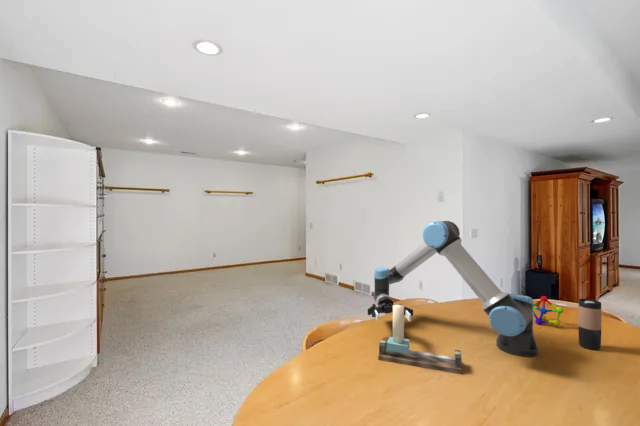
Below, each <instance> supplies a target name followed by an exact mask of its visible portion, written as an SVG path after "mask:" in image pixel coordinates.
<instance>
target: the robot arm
mask: <svg viewBox="0 0 640 426" xmlns="http://www.w3.org/2000/svg"><path fill="white" fill-rule="evenodd" d="M422 231H423V232H422V240H423V243H422V244H420V245H419V246H418V247H417V248H416V249H414V250H413V251H412V252H410V253H409V254H408V255H407V256H406V257H404V258H403V259H402V260H400V261H399V262H398V263H397V264H395V265H394V266H393V267H392V268H387V267H376V268H375V269H374V278H373V279H374V293H373V300H374V302H375V303H376V304H375V303H372V305H371V306H370V307H368V309H367V315H368V316H371V318H375V320H376V322H379V321H380V319H379V317H380V316H379V314H390V313H392V314H393V305H395V302H394V301H393V299H392V298H391V297H390V285H392V284H396V283H399V282H402V281H403V280H404V278H405V277H406V276H407V275H409V274H410V273H411V272H413V271H415V270H416V269H418V267H420V266H421V265H423V263H425V262H427V261H428V260H429V259H430V258H432V257H433V256H434V255H436V254H438V255H439V256H443V257H445V258H446V259H447V261H448V262H449V263H450V264H451V266H452V267H453V268H454V270H456V272H457V273H458V274H459V276H460V277H461V278H462V279H463V280H464V282H465V283H466V284H467V285H468V286H469V288H470V289H471V290H472V292H473V294H475V296H476V297H477V298H478V299H479V300H480V302H481V303H482V304H483V305H482V310H483V312H485V314H486V315H487V316H488V321H489V325H490V326H491V327H492V329H493V330H494V331H495V332H496V333H498V334H497V338H496V341H495V342H496V343H495V344H496V345H495V346H496V347H497V348H498V349H499V350H501V351H503V352H505V353H508V354H510V355H515V356H521V357H534V356H537V355H538V354H539V347H538V344H537V341H536V338H535V336H534V315H533V311H534V309H533V307H535V306H534V300H533V298H532V297H530V296H528V295H524V294H517V293H508V292H503V291H501V290H500V287H498V286H497V285H496V283H495V282H494V281H493V280H492V279H491V278H490V276H489V275H488V274H487V273H486V272H485V271H484V269H483V268H482V267H481V266H480V265H479V264H478V262H477V261H476V260H475V259H474V258H473V256H472V255H471V254H470V253H469V252H468V251H467V249H466V248H465V247H464V246H463V245H462V241H463V239H462V238H461V237H460V235H461V234H460V233H461V232H460V229H459V227H458V226H457V224H456V223H454V222H453V221H450V220H442V221H441V220H434V221H431V222H429V223H428V224H426V225H425V226H424V228H423V230H422ZM398 305H402V306H404V316H405V318H406V320H407V321H408V322H412V317H413V316H414V310H413V309H412V308H409V307H407V306H405V305H403V304H398Z"/></svg>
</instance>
